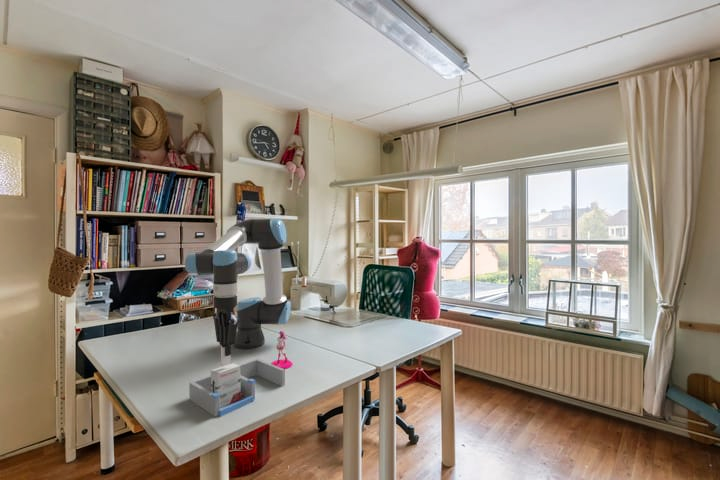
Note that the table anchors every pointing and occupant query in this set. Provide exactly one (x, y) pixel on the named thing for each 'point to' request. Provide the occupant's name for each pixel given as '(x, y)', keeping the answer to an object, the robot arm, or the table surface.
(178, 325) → the table surface
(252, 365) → the divided organizer tray
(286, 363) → the figurine
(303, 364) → the table surface
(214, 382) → the ink box
